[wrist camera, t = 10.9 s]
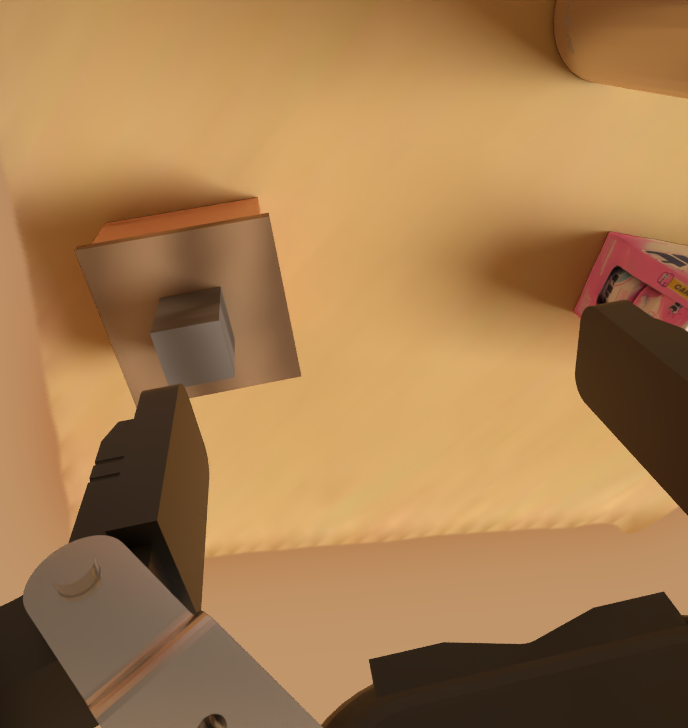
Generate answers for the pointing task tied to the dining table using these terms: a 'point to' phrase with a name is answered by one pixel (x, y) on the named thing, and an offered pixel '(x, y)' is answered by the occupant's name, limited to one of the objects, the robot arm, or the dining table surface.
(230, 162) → the dining table surface
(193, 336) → the lid
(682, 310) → the gum box
